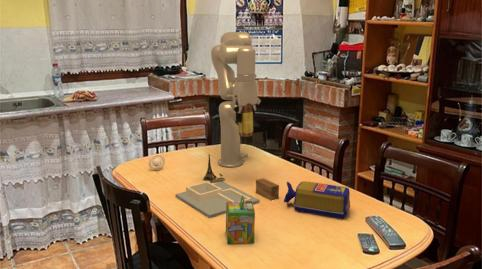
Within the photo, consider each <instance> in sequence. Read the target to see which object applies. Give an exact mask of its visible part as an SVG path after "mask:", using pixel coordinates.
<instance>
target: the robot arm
mask: <svg viewBox="0 0 482 269" xmlns="http://www.w3.org/2000/svg"><path fill="white" fill-rule="evenodd" d="M219 42H220V44H217V45H214V46H213V47H212V48H211V49H210V50H211V53H210V54H211V55H210V56H211V62H212V65H213V67H214V70H215V72H216V74H217V80H218V81H217V83H218V90H219V96H220V98H221V99H222V100H224V101H222V102H221V103H220V104H219V106H218V114H219V121H220V159H219V160H217V165H219V166H221V167H224V168H238V167H241V166H242V165H243V164H244V160H243V159H246V158H248V153H243V152H241V136H239V132H238V122H240V123H241V122H242V113H241V110H242V107H243V106H245V105H247V104H248V103H251V105H252V109H253V121H255V120H256V111H257V108H258V106H259V105H260V103H261V102H262V100H261V98H259V97H258V86H257V81H256V78H257V74H256V49H255V48H254V47H253V46H252V37H251V35H250V34H249V32H247V31H228V32H225V33H223V34H222V35H221V37H220V41H219ZM230 65H236V74H235V71H234V69H233V68H232V67H231V66H230ZM225 100H226V101H225ZM238 108H239V109H238ZM236 122H237V123H236Z"/></svg>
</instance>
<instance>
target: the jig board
mask: <svg viewBox="0 0 482 269" xmlns="http://www.w3.org/2000/svg"><path fill="white" fill-rule="evenodd" d="M242 195H243V197H244V201H252V203H253V205H255V204H259V203H260V199H259V198H257V197H256V196H255V197H254V196H253V195H252V194H249V193H247V192H245V191H243V190H241V189H239V188H237V187H235V186H233V185H231V184H229V183H227V182H225V181H223V182H216V183H210V181H203V182H200V183H196V184H192V185H188V186H186V187H185V191H182V192H179V193H175V198H176V199H178V200H179V201H182V202H183V203H184V204H186V205H188V206H190V208H193V210H196V211H198V212H199V213H200V214H202V215H204V216H205V217H207V218H208V219H211V218H215V217H218V216H221V215H224V214H225V215H226V202H240V201H241V198H242Z"/></svg>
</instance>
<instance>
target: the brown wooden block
mask: <svg viewBox="0 0 482 269" xmlns="http://www.w3.org/2000/svg"><path fill="white" fill-rule="evenodd" d="M279 192H280V185H279V184H277V183H275V182H273V181H271V180H268V179H266V178H264V177H263V178H262V177H261V178H259V179H256V180H255V194H257V195H258V196H261V197H262V198H265V199H266V200H268V201H270V202H272V200H273V201H275V199H276V200H279V196H280V195H279V194H280V193H279Z"/></svg>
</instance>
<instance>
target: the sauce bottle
mask: <svg viewBox="0 0 482 269" xmlns="http://www.w3.org/2000/svg"><path fill="white" fill-rule="evenodd" d="M238 109H239V108H238ZM241 113H242V122H241V123H240V122H237V125H238V132H239V136H240V137H243V138H251V137H252V136H253V135H254V120H253V109H252V105H251V103H248V104H247V105H245V106H243V107H242V110H241Z"/></svg>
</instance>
